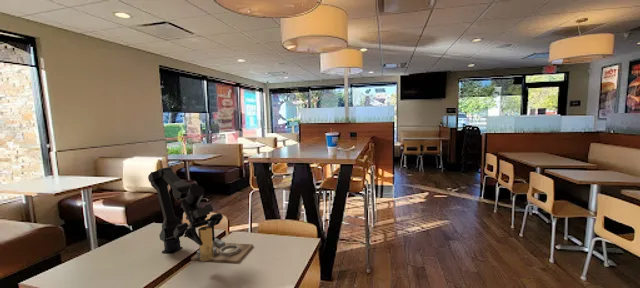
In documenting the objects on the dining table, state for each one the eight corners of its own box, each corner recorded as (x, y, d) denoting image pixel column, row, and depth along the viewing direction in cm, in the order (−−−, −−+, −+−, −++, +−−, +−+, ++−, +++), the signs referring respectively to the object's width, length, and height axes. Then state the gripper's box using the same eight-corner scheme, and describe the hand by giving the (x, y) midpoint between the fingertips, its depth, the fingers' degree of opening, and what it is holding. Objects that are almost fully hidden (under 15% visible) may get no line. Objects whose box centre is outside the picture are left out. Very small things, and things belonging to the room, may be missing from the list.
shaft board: (191, 260, 123) (190, 252, 122) (211, 244, 138) (210, 237, 138) (238, 263, 119) (237, 255, 119) (253, 246, 135) (252, 239, 134)
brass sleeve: (197, 259, 111) (195, 230, 110) (205, 254, 115) (204, 225, 114) (207, 261, 109) (206, 231, 108) (216, 255, 114) (214, 226, 113)
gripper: (174, 205, 106) (190, 240, 100) (219, 194, 120) (235, 224, 114) (167, 220, 111) (181, 255, 105) (210, 208, 126) (225, 238, 120)
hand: (207, 242), depth 111 cm, fingers closed on brass sleeve, 5 cm apart
